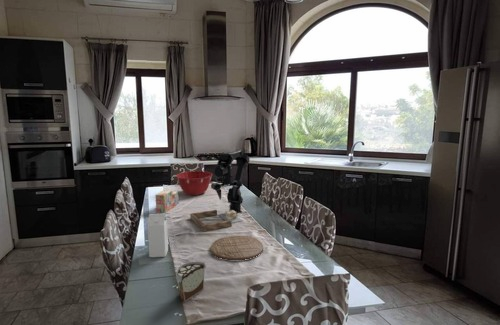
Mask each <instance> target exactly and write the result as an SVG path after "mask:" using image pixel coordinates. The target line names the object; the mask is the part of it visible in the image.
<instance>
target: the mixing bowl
mask: <svg viewBox="0 0 500 325" xmlns="http://www.w3.org/2000/svg"><path fill="white" fill-rule="evenodd" d="M175 176H176V179H177V183H178V184H179V186H180V188H181V190H182V192H183V193H185V194H186V195H188V194H189V196H197V195H198V194H200V195H203V194H204V193H206V191H207V190H208V189H209V186H210V185H211V180H212V177H213V173H212V172H209V171H201V170H194V171H192V170H191V171H184V172H180V173H178V174H176V175H175ZM202 193H203V194H202ZM198 196H199V195H198Z"/></svg>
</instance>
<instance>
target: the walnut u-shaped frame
mask: <svg viewBox="0 0 500 325" xmlns="http://www.w3.org/2000/svg"><path fill="white" fill-rule="evenodd" d="M189 216H190V220H191V221H192V222H193V223H195V225H196V226H197V227H198V228H200V230H201V229H202V230H203V232H206V231H205V230H207V231H211V229H213V230H217V228H218V229H222V228H223V229H225V228H228V227H232V224H233V223H232V221H231V220H229V221H225V220H224V221H218V222H213V223H207V224H205V223H204V222H202V220H200V217H201V218H206V216H207V217H213V216H218V210H217V209H212V210H206V211H199V212H191V213H190V215H189ZM202 230H201V231H202Z"/></svg>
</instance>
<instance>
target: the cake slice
mask: <svg viewBox="0 0 500 325" xmlns="http://www.w3.org/2000/svg"><path fill="white" fill-rule="evenodd" d="M205 269H206V263H205V262H203V261H190V262H187V263H184V264H182V265H180V266H178V268H177V269H176V274H175V279H176V281H177V282H178V287H179V296H180V300H181V301H182V302H184V303H186V302H187V301H189V300H190V299H192V298H193V297H195V296H196V295H198V294H199V293H201V292H202V291H203V289H204V288H205V286H204V285H205ZM200 291H201V292H200ZM197 293H198V294H197Z"/></svg>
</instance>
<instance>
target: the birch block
mask: <svg viewBox="0 0 500 325" xmlns="http://www.w3.org/2000/svg"><path fill="white" fill-rule="evenodd" d="M229 210H230V209H229ZM229 210H226V211H225V215H226V218H227V219H228V220H231V219H237V217H238V216H237V213H236V212H235V211H234V210H230V211H229ZM236 216H237V217H236Z"/></svg>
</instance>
